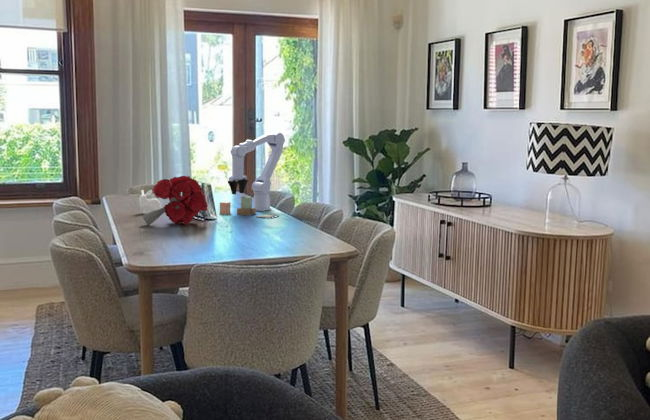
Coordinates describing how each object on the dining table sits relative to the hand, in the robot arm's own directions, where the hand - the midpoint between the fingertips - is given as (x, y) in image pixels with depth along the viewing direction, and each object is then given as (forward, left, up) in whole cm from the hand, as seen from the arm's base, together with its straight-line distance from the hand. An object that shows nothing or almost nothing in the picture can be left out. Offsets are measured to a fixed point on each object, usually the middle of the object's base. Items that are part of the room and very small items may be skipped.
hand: (237, 193), depth 345 cm
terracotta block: (+9, -2, -10) cm, 14 cm away
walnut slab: (+4, +8, -10) cm, 14 cm away
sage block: (+4, +8, -7) cm, 11 cm away
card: (+6, +22, -10) cm, 25 cm away
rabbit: (+31, -34, -10) cm, 47 cm away
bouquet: (+52, -1, -10) cm, 53 cm away
